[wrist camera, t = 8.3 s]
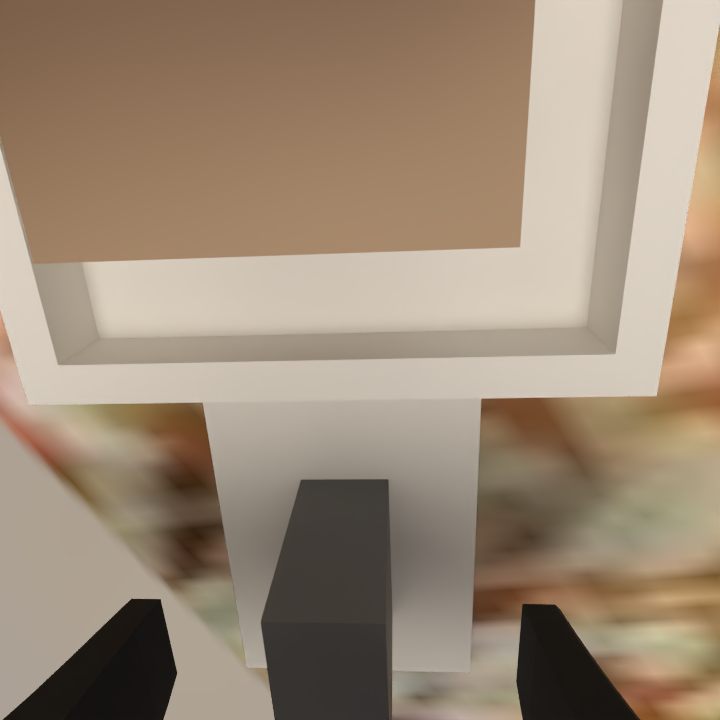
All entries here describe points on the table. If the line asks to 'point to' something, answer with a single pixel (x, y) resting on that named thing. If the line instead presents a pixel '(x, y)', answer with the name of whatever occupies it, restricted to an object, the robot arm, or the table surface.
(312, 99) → the walnut cube
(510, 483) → the table surface
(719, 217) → the table surface
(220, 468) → the white tray
